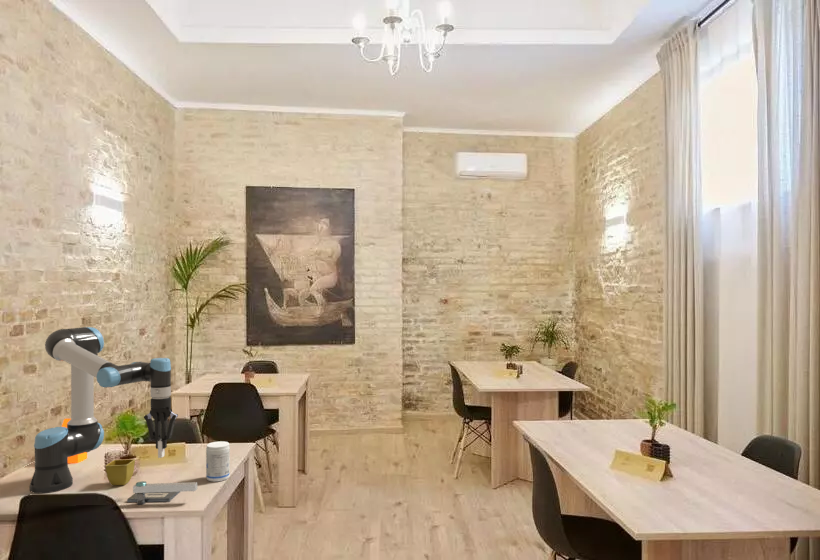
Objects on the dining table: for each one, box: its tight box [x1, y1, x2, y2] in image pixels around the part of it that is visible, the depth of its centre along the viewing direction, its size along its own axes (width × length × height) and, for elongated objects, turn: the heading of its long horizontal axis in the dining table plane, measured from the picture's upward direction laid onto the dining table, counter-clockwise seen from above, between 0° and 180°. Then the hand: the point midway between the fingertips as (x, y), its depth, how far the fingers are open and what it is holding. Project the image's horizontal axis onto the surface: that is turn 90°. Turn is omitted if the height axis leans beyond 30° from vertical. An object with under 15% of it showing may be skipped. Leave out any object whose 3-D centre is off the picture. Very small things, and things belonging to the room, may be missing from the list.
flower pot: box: [105, 458, 136, 487], centre depth 245 cm, size 9×9×9 cm
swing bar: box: [132, 480, 198, 494], centre depth 223 cm, size 23×4×3 cm, turn 93°
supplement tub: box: [205, 440, 231, 483], centre depth 251 cm, size 10×10×15 cm
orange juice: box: [61, 418, 88, 464], centre depth 279 cm, size 8×9×20 cm
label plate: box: [126, 492, 181, 503], centre depth 230 cm, size 16×13×2 cm
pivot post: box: [136, 493, 146, 506], centre depth 222 cm, size 3×3×4 cm
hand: (161, 456), depth 234 cm, fingers closed
